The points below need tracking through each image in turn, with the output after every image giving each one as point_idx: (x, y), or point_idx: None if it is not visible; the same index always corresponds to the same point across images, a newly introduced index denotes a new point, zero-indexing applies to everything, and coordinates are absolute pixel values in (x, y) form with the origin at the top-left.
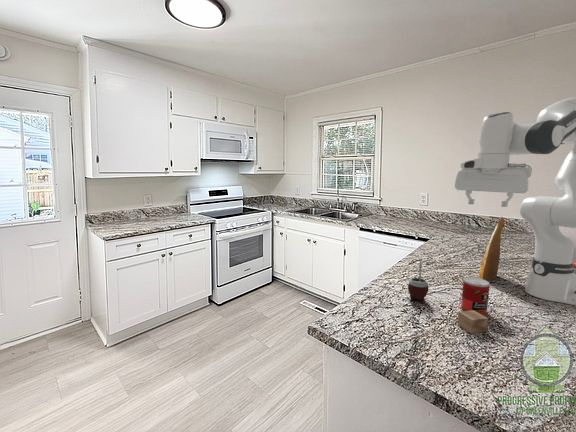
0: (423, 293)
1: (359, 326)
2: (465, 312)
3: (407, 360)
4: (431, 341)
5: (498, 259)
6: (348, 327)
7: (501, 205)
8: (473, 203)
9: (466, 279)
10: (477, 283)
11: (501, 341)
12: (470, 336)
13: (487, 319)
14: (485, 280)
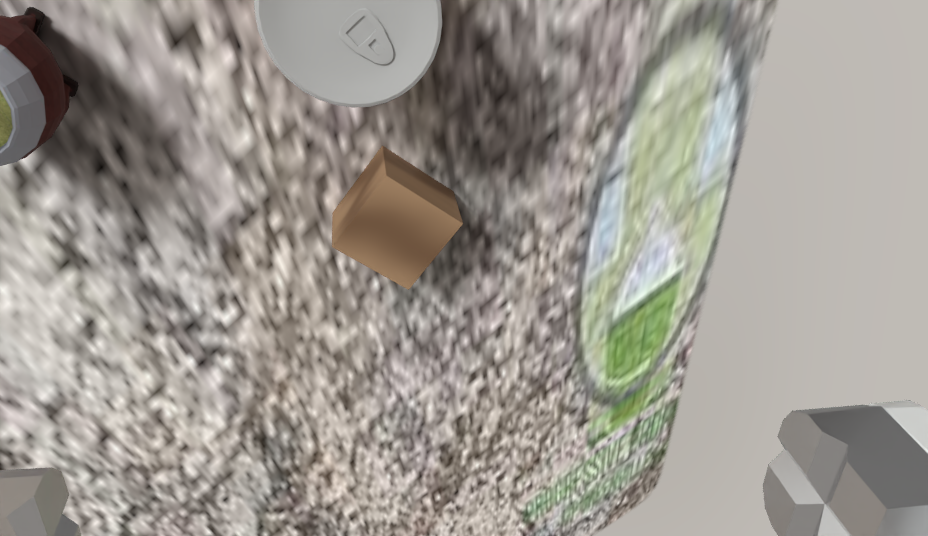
0: (57, 124)
1: None
2: (361, 232)
3: (296, 533)
4: (304, 407)
5: None
6: None
7: (775, 528)
8: (56, 521)
9: (276, 17)
10: (367, 58)
11: (514, 234)
12: None
13: (461, 221)
14: None
